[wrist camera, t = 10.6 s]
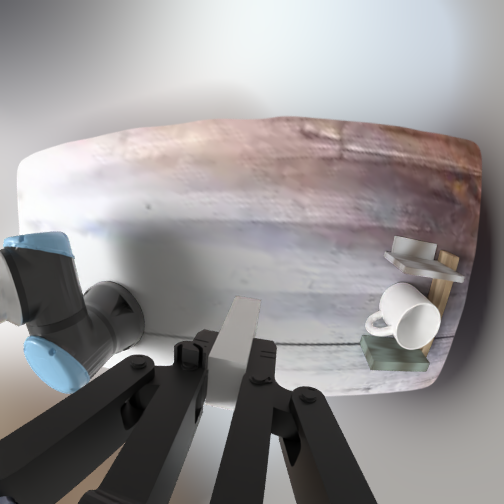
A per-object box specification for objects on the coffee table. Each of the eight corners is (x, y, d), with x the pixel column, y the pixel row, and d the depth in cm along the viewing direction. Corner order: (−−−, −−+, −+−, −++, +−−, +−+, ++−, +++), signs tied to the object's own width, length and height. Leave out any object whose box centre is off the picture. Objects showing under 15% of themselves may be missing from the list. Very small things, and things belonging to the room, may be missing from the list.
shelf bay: (357, 350, 52) (368, 381, 42) (388, 234, 46) (411, 246, 37) (413, 354, 51) (430, 382, 41) (447, 246, 45) (475, 259, 36)
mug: (362, 333, 51) (376, 363, 41) (355, 294, 49) (369, 320, 39) (419, 314, 49) (441, 339, 39) (415, 275, 47) (439, 295, 37)
